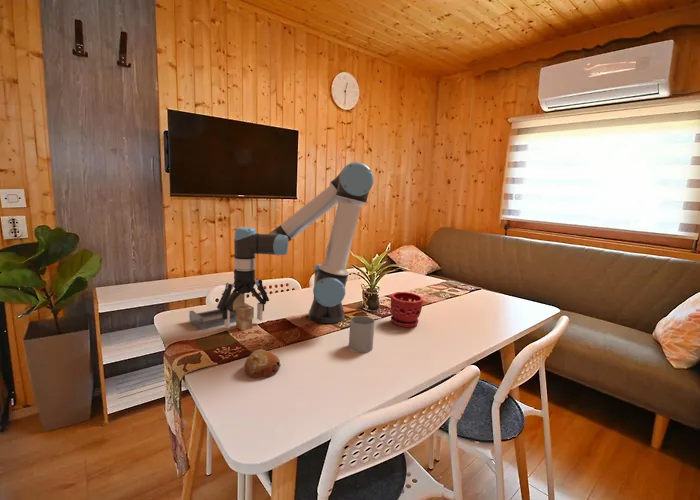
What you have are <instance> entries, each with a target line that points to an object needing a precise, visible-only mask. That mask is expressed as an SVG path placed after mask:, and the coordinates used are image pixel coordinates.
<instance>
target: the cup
mask: <svg viewBox="0 0 700 500" xmlns="http://www.w3.org/2000/svg"><path fill="white" fill-rule="evenodd" d="M375 324H376V323H375V319H374V318H372V317H370V316H366V315H365V316H364V315H357V316H352V317H351V318H350V320H349V334H348V335H349V337H348V348H349V350H350V351H352V352H355V353H362V354H365V353H369V352H372V350H373V349H374V335H375Z"/></svg>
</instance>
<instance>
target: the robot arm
mask: <svg viewBox="0 0 700 500" xmlns="http://www.w3.org/2000/svg"><path fill="white" fill-rule="evenodd" d="M373 185H374V175H373V172H372V170H371V168H369V166H367V164H365V163H362V162H357V161H354V162H350V163H348V164H347V165H345V166H344V167H343V169H342V170H341V171H340V173H338V175H337V176H336V177H335V178H334V179H333V180H331V181H330V182H329V186H328V187H326V188H325V189H324V190H323V191H321V192H320V193H318V195H317V196H315V197H314V198H313V199H311V200H310V201H309V202H307V203H306V204H305V205H304V206H302V207H301V208H300V209H299V210H298V211H296V212H295V213H293V214H291V216H290V217H288V218H287V219H286V220H284V221H283V222H282V223H281V224H280V225H278V226H277V227H276V228H274V229H273V230H271V231H270V232H268V233H259V232H256V231H257V230H256V228H254V227H248V226H241V227H237V228H235V231H234V239H233V244H234V245H233V246H234V249H233V251H234V253H233V254H234V257H233V259H234V260H233V263H234V264H233V268H234V270H233V280H234V282H233V283H229V282H226V283H225V288H224V290H223V293H222V295H221V297H220V300H219V302H218V304H217V306H216V308H217V309H219V310H221V311H222V318H223V319H224V325H223V326H224V328H226V329H230V328H231V326H230V325H231V323H230V311H229V310H228V309H229V308H230V306H231V305H232V304H233V302H234V301H235V299H236V298H237V297H238V296H239V295H240V294H250V293H251V294H252V295H253V297H255V299H257V301H258V302H257V304H256V305H257V307H256V309H257V310H256V312H257V313H256V319H257V320H258V321H263V312H265V305H266V304H267V302H269V301H270V298H269V296H268V294H267V292H266V290H265V288H264V286H263V280H262V279H260V278H256V270H255V269H256V255H271V256H272V255H274V256H285V255H287V254H288V251H289V242H291V241H292V240H293V239H294V238H295V237H297V236H298V235H300V233H302V232H304V231H305V229H307V228H308V227H310V226H311V225H312V224H313V223H315V222H316V221H317V220H319V219H320V218H321V217H323V216H324V215H325V214H326V213H327V212H329V211H331V210H332V209H333V208H334V207H336V211H335V215H334V220H333V222H332V223H333V224H332V228H331V232H330V236H329V239H328V244H327V249H326V252H325V255H324V256H325V257H324V261H323V263H319V264H317V263H316V265H314V270H313V271H314V277H313V278H314V280H313V282H314V283H313V290H312V293H313V298H312V299H313V300H312V303H311V306H310V309H309V311H308V318H309V319H310V320H311V321H313V322H316V323H320V324H335V323H339V322H341V321H344V319H345V311H344V307H343V303H342V302H343V300H344V298H345V296H346V287H347V286H346V285H347V283H348V282H347V281H348V276H349V272H348V270H347V264H348V262H349V260H348V259H349V257H350V253H351V249H352V245H353V241H354V237H355V233H356V228H357V224H358V220H359V217H360V212H361V209H362V207H363V206H364V205H366V204H367V201H368V197H369V194H370V191H371V189H372V187H373ZM255 286H256V287H257V290H258V291H259V293H258V292H257V290H256V288H254V287H255ZM232 290H233V291H232ZM236 292H237V293H236ZM230 293H232V294H231V296H230V297H229V295H230ZM228 297H229V298H228ZM227 299H228V300H227Z"/></svg>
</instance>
